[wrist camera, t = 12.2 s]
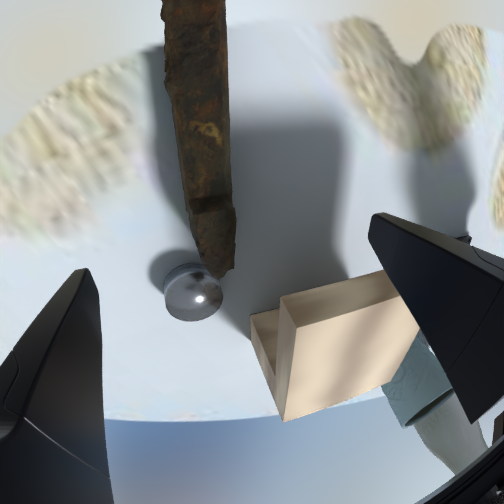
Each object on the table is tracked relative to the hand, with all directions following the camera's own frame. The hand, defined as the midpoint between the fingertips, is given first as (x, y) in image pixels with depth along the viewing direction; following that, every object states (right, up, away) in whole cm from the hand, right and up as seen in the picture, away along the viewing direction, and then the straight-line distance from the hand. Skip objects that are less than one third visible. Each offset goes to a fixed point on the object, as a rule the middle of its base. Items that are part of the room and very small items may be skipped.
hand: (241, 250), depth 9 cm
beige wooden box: (+5, -3, +19) cm, 20 cm away
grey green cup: (+21, -14, +34) cm, 43 cm away
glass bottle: (+29, -21, +42) cm, 55 cm away
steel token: (-5, -3, +16) cm, 17 cm away
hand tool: (-3, +8, +9) cm, 12 cm away
